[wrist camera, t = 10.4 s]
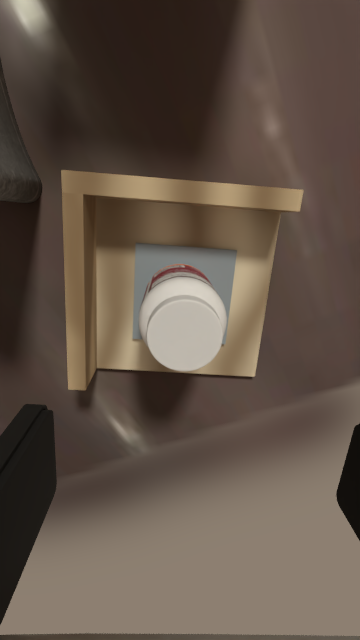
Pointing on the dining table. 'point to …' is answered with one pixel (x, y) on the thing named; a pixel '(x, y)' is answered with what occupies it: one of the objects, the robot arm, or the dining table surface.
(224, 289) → the slate pad
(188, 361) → the pill bottle
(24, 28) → the dining table surface
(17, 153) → the flask
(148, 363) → the wooden corner stand
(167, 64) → the dining table surface
